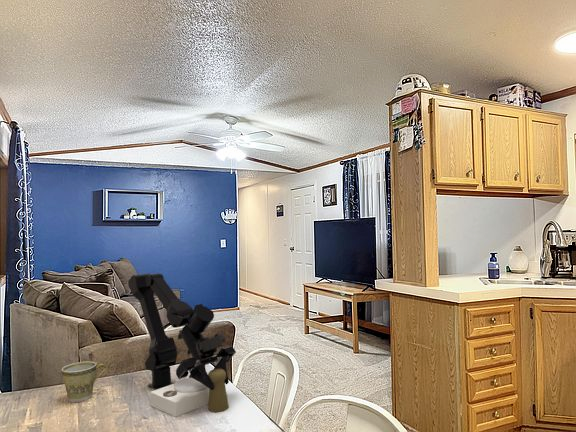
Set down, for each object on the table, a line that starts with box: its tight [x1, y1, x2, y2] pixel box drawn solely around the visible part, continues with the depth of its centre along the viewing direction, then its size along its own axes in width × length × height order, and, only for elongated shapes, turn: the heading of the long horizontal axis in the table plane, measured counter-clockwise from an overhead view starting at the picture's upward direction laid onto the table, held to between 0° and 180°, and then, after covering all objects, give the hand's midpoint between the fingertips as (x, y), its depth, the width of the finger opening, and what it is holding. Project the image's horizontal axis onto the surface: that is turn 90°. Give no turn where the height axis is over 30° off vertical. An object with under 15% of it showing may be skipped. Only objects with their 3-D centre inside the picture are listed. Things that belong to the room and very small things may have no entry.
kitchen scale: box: [149, 377, 209, 418], centre depth 132 cm, size 13×16×5 cm
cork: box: [207, 368, 230, 414], centre depth 127 cm, size 6×6×11 cm
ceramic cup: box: [61, 361, 106, 403], centre depth 140 cm, size 13×10×10 cm
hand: (220, 386), depth 126 cm, fingers closed on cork, 5 cm apart
